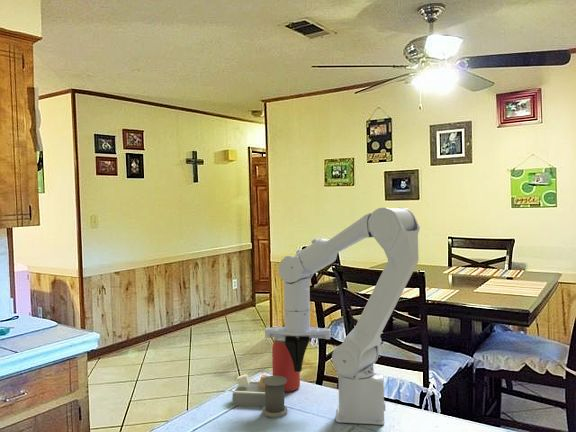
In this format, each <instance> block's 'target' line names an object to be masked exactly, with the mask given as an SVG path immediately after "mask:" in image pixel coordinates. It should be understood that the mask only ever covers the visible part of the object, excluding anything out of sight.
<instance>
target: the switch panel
mask: <svg viewBox="0 0 576 432" xmlns="http://www.w3.org/2000/svg"><path fill="white" fill-rule="evenodd" d="M259 383H260V380H250V383H249V385H245V386H242V387H239V385H238V386H237V387H236V388H235V390H234V391H233V392H232V406H243V407H248V406H249V407H262V408H264V407H265V387H263V386H260V385H259Z"/></svg>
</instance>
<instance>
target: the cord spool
mask: <svg viewBox="0 0 576 432" xmlns="http://www.w3.org/2000/svg"><path fill="white" fill-rule="evenodd" d="M267 376H268V375H267ZM262 383H263V384H265V407H262V415H263V416H264V417H267V418H269V419H270V418H271V419H279V418H283V417H285V416H287V415H288V407H287V406H286V405H285V392H284V384H285V383H287V378H285V377H283V376H273V375H269V376H268V377H265V378H263V379H262Z"/></svg>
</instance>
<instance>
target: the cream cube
mask: <svg viewBox="0 0 576 432" xmlns="http://www.w3.org/2000/svg"><path fill="white" fill-rule="evenodd" d="M236 380H237V384H238V386H239V387H242V386H245V385H249V383H250V381H251V380H250V377H249V375H248V373H245V374H242V375H239V376H237V378H236Z"/></svg>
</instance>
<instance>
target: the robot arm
mask: <svg viewBox="0 0 576 432" xmlns="http://www.w3.org/2000/svg"><path fill="white" fill-rule="evenodd" d="M420 229H421V227H420V225H419V223H418V220H417V218H416V216H415V214H414V213H413V212H412V211H411V210H410V209H409V208H406V207H396V208H392V207H391V208H389V207H378V208H377V209H375V210H374V211H373V212H369V213H366V214H364V215H363V216H362V217H360V218H359V219H358V220H356V221H355V222H353V223H352V224H350V225H349V226H347V227H345V228H344V229H343V230H342V231H340V232H338V233H337V234H336V235H334V236H333V237H332V238H330V239H327V238H322V237H321V238H318V237H317V238H314V239H312V240H311V244H310V245H308V246H306V247H305V248H303V249H298V250H296V254H295V255H285V256H284V258H282V259H281V261H280V262H279V264H278V268H277V269H278V274H279V277H280V279H281V280H283V298H284V299H283V300H284V301H283V304H284V307H283V308H284V326H279V327H278V326H277V327H265V328H264V338H265V339H270V338H275V337H279V338H285V345H286V347H287V349H288V351H289V353H290V355H291V358H292V361H293V365H294V370H295V372H300V373H301V372H302V370H303V363H304V362H303V361H304V357H305V353H306V350H307V348H308V346H309V343H310V340H311V339H325V340H331V328H323V327H321V328H320V327H313V326H311V303H310V302H311V299H310V298H311V297H310V296H311V293H310V291H311V290H310V289H311V288H310V286H311V279H312V278H313V276H314V274H316V273H317V272H318V271H319V272H320V271H321V270H322V269H325V268H326V267H327V266H328V267H329V265H331V264H333V263H334V262H336V260H337V257H338V254H339V253H340V252H341V251H344V250H346V249H348V248H350V247H351V246H353V245H356V244H357V243H359V242H361V241H362V240H364V239H367V238H374V239H375V241H376V242H377V244H379V246H380V248H382V250H383V251H384V253H385V256H386V259H387V262H386V265H385V266H384V268H383V270H382V272H381V273H380V276H379V278H378V280H377V282H376V285H375V286H374V287H373V290H372V292H371V294H370V296H369V297H368V301H367V302H366V304H365V306H364V309H363V311H362V312H361V314H360V317H359V318H358V321H357V322H356V325H355V326H354V328H352V330H351V331H350V332H349V333H348V334H347V335H346V336H345V337H344V340H343V341H342V343H341V344H339V345H338V346H337V347H335V348H334V350H333V352H332V353H331V362H332V366H333V368H334V369H335V371H336V372H337V376H338V405H337V411H336V418H335V422H336V423H346V424H361V425H362V424H364V425H379V426H381V425H382V426H383V425H384V424H385V412H386V401H385V393H384V392H385V387H384V386H385V385H384V383H385V382H384V374H383V373H377V372H375V369H374V364H376V362H377V361H378V359H379V353H380V352H379V351H380V345H381V344H382V337H381V336H382V333H383V331H384V329H385V327H386V325H387V323H388V321H389V320H390V318H391V316H392V314H393V312H394V309H395V308H396V306H397V304H398V302H399V300H400V298H401V296H402V294H403V292H404V290H405V289H406V286H407V285H408V282H409V281H410V279H411V277H412V275H413V273H414V271H415V269H416V267H417V265H418V263H419V260H420V259H419V232H420Z"/></svg>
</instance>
